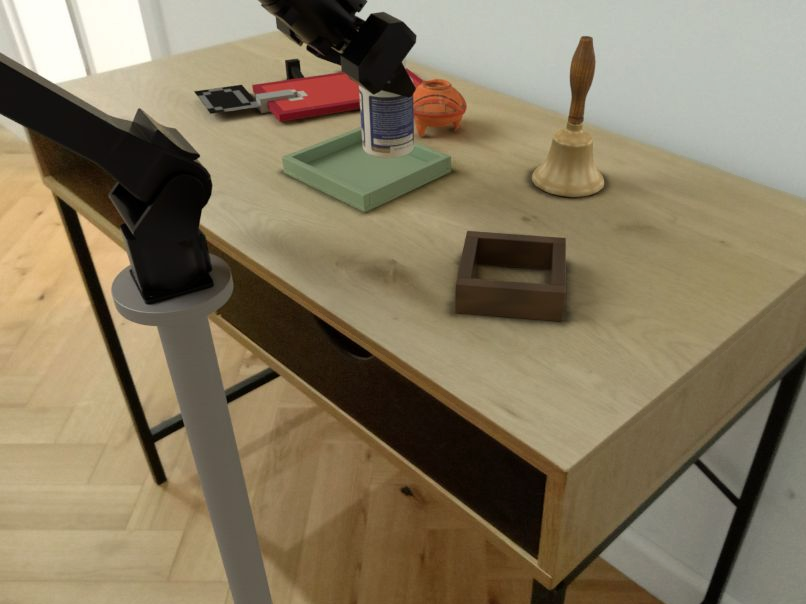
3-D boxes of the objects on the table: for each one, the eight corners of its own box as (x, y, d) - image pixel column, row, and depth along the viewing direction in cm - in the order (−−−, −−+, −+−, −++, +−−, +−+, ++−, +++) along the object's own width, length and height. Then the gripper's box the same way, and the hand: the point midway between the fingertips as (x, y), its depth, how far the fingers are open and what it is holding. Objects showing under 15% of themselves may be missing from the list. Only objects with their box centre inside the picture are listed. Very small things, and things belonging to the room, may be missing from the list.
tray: (364, 212, 82) (363, 195, 81) (283, 173, 89) (281, 156, 88) (451, 171, 91) (451, 155, 89) (370, 138, 97) (370, 123, 96)
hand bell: (585, 161, 94) (603, 23, 84) (616, 192, 87) (639, 46, 77) (521, 169, 91) (531, 28, 82) (548, 202, 85) (562, 53, 75)
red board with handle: (191, 93, 107) (222, 134, 97) (187, 72, 105) (218, 113, 95) (390, 65, 119) (435, 99, 109) (389, 46, 117) (435, 79, 108)
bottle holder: (454, 313, 69) (455, 284, 67) (466, 257, 76) (466, 230, 74) (562, 321, 68) (565, 293, 66) (562, 264, 75) (566, 237, 73)
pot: (389, 122, 101) (398, 68, 97) (442, 126, 105) (453, 75, 101) (415, 143, 95) (426, 87, 92) (470, 147, 99) (482, 93, 96)
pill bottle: (424, 149, 82) (424, 54, 76) (387, 164, 78) (384, 67, 72) (389, 134, 84) (386, 41, 78) (351, 148, 81) (345, 53, 75)
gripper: (393, -87, 59) (502, 42, 71) (292, -120, 71) (400, -5, 83) (306, 35, 60) (428, 142, 72) (222, -18, 73) (338, 81, 84)
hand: (398, 84), depth 78 cm, fingers closed on pill bottle, 5 cm apart
